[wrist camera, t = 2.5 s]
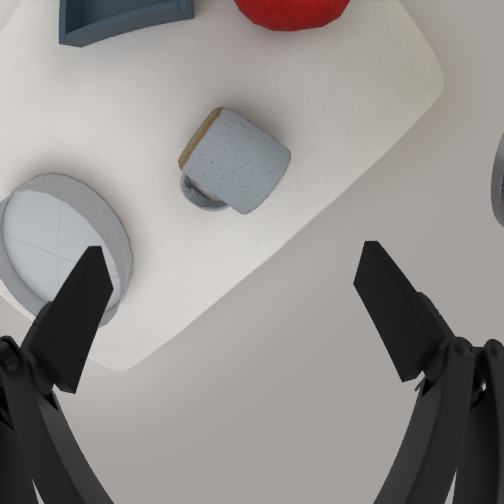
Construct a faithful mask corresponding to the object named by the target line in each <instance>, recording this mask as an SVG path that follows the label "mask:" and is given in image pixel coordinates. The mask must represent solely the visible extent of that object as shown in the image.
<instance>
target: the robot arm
mask: <svg viewBox="0 0 504 504" xmlns="http://www.w3.org/2000/svg"><path fill="white" fill-rule="evenodd" d="M353 284H354V286H355V288H356V290H357V292H358V294H359V295H360V297H361V299H362V301H363V303H364V305H365V307H366V309H367V311H368V313H369V315H370V317H371V318H372V320H373V322H374V324H375V326H376V328H377V330H378V332H379V334H380V336H381V338H382V340H383V342H384V345H385V347H386V349H387V351H388V353H389V355H390V357H391V359H392V361H393V363H394V366H395V368H396V370H397V372H398V374H399V376H400V379H401V381H402V382H405V381H409V380H412V379H416V378H417V377H418V375H419V374H420V373H421V371H422V370H423V372H424V374H425V377H424V378H423V379H422V381H421V382H420V383H419V384H418V385H417V387H416V388H415V390H414V391H417V390H418V389H419V387H420V390H419V394H418V397H417V400H416V404H415V407H414V410H413V413H412V416H411V419H410V422H409V425H408V428H407V431H406V433H405V436H404V439H403V441H402V444H401V447H400V449H399V451H398V454H397V456H396V458H395V461H394V463H393V465H392V467H391V470H390V472H389V474H388V476H387V478H386V480H385V482H384V484H383V486H382V488H381V490H380V492H379V494H378V496H377V498H376V500H375V501H374V503H373V504H444V503H445V501H446V498H447V495H448V493H449V490H450V487H451V484H452V481H453V478H454V475H455V471H456V468H457V471H456V481H455V489H454V497H453V502H452V504H504V346H503V345H502V344H501V343H500V342H499V341H497V340H495V339H490V340H488V341H487V343H486V344H485V345H484V347H473V346H472V344H471V343H470V342H469V341H468V340H466V339H465V338H463V337H455V335H454V334H453V332H452V331H451V329H450V328H449V326H448V325H447V323H446V322H445V320H444V319H443V317H442V316H441V315H440V314H439V312H438V310H437V309H436V308H435V306H434V305H433V303H432V302H431V300H430V299H429V298H428V297H427V296H426V295H424V294H423V293H422V292H417V291H416V290H415V289H414V287H413V286H412V285H411V283H410V282H409V281H408V279H407V278H406V276H405V275H404V274H403V273H402V271H401V270H400V269H399V267H398V266H397V265H396V264H395V262H394V261H393V260H392V258H391V257H390V256H389V255H388V253H387V252H386V251H385V250H384V248H383V247H382V246H381V245H380V243H379V242H378V241H365V243H364V247H363V250H362V255H361V258H360V262H359V265H358V269H357V273H356V276H355V280H354V283H353ZM113 290H114V288H113V285H112V281H111V278H110V275H109V272H108V268H107V265H106V261H105V258H104V254H103V251H102V247H101V246H88V247H87V249H86V250H85V252H84V253H83V254H82V256H81V257H80V259H79V260H78V262H77V263H76V265H75V266H74V268H73V269H72V271H71V272H70V274H69V275H68V277H67V279H66V280H65V282H64V283H63V285H62V287H61V288H60V290H59V291H58V293H57V295H56V296H55V298H54V300H53V301H48V302H47V303H46V304H45V305H44V306H43V307H42V308H41V309H40V311H39V313H38V314H37V316H36V319H35V320H34V322H33V324H32V326H31V327H30V329H29V331H28V333H27V335H26V336H25V338H24V340H23V342H22V344H21V347H20V348H19V346H18V345H17V344H16V342H15V341H14V339H13V338H12V337H11V336H2V337H0V504H39V503H38V500H37V496H36V492H35V489H34V485H33V481H34V483H35V486H36V488H37V490H38V492H39V494H40V496H41V498H42V500H43V502H44V504H114V503H113V501H112V500H111V499H110V497H109V496H108V494H107V493H106V491H105V490H104V488H103V487H102V485H101V484H100V482H99V481H98V479H97V477H96V476H95V474H94V473H93V471H92V469H91V467H90V466H89V464H88V462H87V460H86V459H85V457H84V455H83V453H82V452H81V450H80V448H79V446H78V444H77V442H76V440H75V438H74V436H73V434H72V432H71V430H70V428H69V425H68V423H67V421H66V419H65V416H64V414H63V412H62V409H61V407H60V405H59V402H58V400H57V397H56V394H55V393H54V391H53V390H52V388H53V385H54V383H55V385H56V386H57V387H58V388H59V389H60V391H64V392H68V393H73V394H75V393H76V390H77V387H78V383H79V380H80V377H81V374H82V371H83V368H84V365H85V362H86V359H87V356H88V353H89V350H90V348H91V345H92V342H93V339H94V337H95V334H96V332H97V329H98V326H99V324H100V321H101V319H102V316H103V314H104V311H105V309H106V307H107V304H108V302H109V300H110V297H111V295H112V293H113ZM484 383H485V384H486V389H485V390H484V391H483V389H482V385H483V384H484ZM32 479H33V481H32Z"/></svg>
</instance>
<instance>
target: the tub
mask: <svg viewBox="0 0 504 504" xmlns="http://www.w3.org/2000/svg"><path fill="white" fill-rule="evenodd" d="M193 18H194V7H193V0H60V11H59V44H62V45H69V46H75V47H84V46H86V45H89V44H92V43H95V42H97V41H100V40H103V39H106V38H109V37H113V36H116V35H119V34H123V33H126V32H130V31H133V30H137V29H141V28H145V27H150V26H154V25H159V24H164V23H169V22H174V21H180V20H186V19H193Z"/></svg>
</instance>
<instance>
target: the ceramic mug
mask: <svg viewBox="0 0 504 504" xmlns="http://www.w3.org/2000/svg"><path fill="white" fill-rule="evenodd" d="M290 159H291V152H290V151H289V150H288V149H287V148H286V147H285V146H283V145H282V144H280V143H279V142H278V141H276V140H275V139H274V138H272V137H271V136H269V135H268V134H267V133H265V132H264V131H262V130H261V129H259V128H258V127H256V126H255V125H253V124H252V123H250V122H249V121H247V120H246V119H244V118H243V117H241V116H240V115H238V114H237V113H235V112H233V111H231V110H228V109H226V108H222V107H220V108H216V109H214V110H213V111H212V112H211V113H210V115H209V116H208V117H207V118H206V120H205V121H204V122H203V123H202V125H201V126H200V128H199V129H198V130H197V132H196V133H195V134H194V136H193V137H192V139H191V140H190V142H189V143H188V145H187V146H186V148H185V150H184V151H183V153H182V154H181V156H180V158H179V160H178V163H179V167H180V169H181V170H182V171H183V172H184V173H183V174H182V177H181V182H180V187H181V190H182V192H183V194H184V196H185V197H186V198H187V199H188V200H189V201H190V202H191V203H192V204H194V205H195V206H197V207H199V208H201V209H203V210H207V211H219V210H223V209H225V208H227V207H229V206H230V207H232V208H233V209H234V210H236V211H237V212H239V213H241V214H244V215H246V214H248V213H250V212H252V211H253V210H254V209H256V208H257V207H258V206H259V205H260V204H262V203H263V201H264V200H265V199H266V198H267V197H268V196H269V195H270V193H271V192H272V191H273V190H274V188H275V187H276V185H277V184H278V183H279V182H280V180H281V179H282V177H283V176H284V174H285V172H286V170H287V167H288V164H289V162H290ZM188 177H189V178H191V179H192V180H193V181H195V182H196V183H198V184H199V185H201V186H203V187H204V188H206V189H207V190H209V191H210V192H211V193H213V194H214V195H215V196H217V197H218V198H219V199H221V200H222V201H212V200H209V199H207V198H205V197H203V196H202V195H201V194H200V193H198V192H197V191H196V190H195V189H194V188H193V187H191V186H190V184H189V180H188Z"/></svg>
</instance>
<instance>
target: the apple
mask: <svg viewBox="0 0 504 504" xmlns="http://www.w3.org/2000/svg"><path fill="white" fill-rule="evenodd" d="M234 1H235V3H236V4H237V6H238V8H239V10H240V11H241V12H242V13H243V14H244V15H245V16H246V17H247V18H248V19H250V20H251V21H252V22H253V23H254V24H257V25H260V26H262V27H265V28H268V29H270V30H273V31H298V30H304V29H311V28H317V27H323V26H325V25H326V24H328V23H330V22H332V21H333V20H335V19H337V18H339V17H340V16H341V14H342V13H343V11H344V10H345V8H346V6H347V5H348V3H349V1H350V0H234Z"/></svg>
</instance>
